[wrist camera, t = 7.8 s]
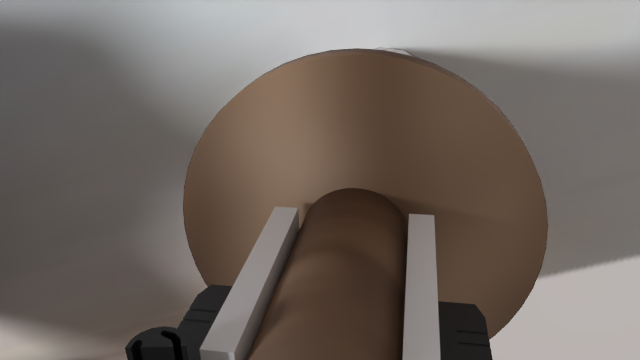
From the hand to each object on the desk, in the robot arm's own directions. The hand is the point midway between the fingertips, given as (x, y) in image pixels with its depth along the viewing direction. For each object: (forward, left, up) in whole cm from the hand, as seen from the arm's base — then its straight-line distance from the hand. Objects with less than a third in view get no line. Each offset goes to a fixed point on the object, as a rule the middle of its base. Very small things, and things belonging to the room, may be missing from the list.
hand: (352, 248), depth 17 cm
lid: (0, 0, -2) cm, 2 cm away
